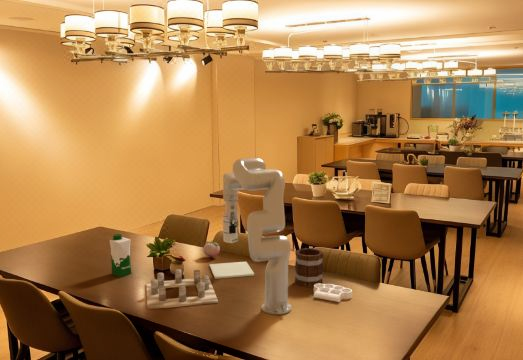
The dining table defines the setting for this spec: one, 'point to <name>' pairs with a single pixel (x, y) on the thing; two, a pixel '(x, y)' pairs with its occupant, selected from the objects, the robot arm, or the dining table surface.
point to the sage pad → (231, 270)
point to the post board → (175, 301)
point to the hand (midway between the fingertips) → (230, 231)
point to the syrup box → (226, 235)
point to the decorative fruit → (211, 249)
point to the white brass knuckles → (332, 292)
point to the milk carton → (120, 255)
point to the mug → (308, 267)
